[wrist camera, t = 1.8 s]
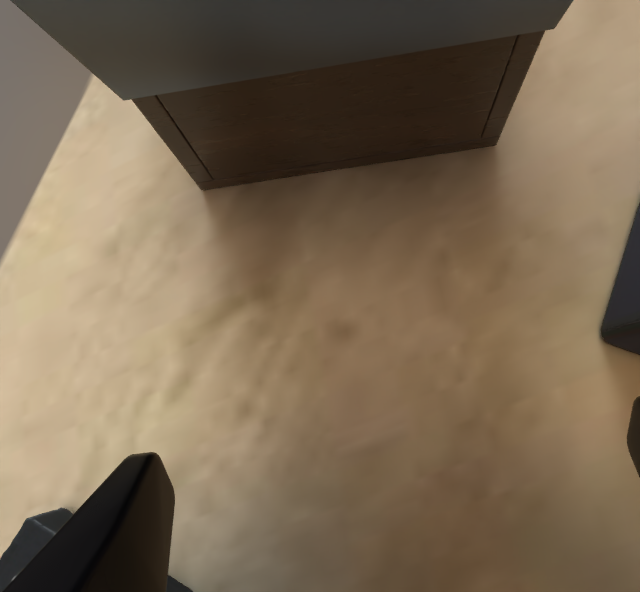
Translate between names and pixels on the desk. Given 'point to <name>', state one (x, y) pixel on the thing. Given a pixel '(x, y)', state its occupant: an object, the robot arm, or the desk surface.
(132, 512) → the robot arm
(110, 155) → the desk surface
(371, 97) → the chest
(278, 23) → the lid
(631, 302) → the calculator
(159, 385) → the desk surface
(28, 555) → the disk drive
